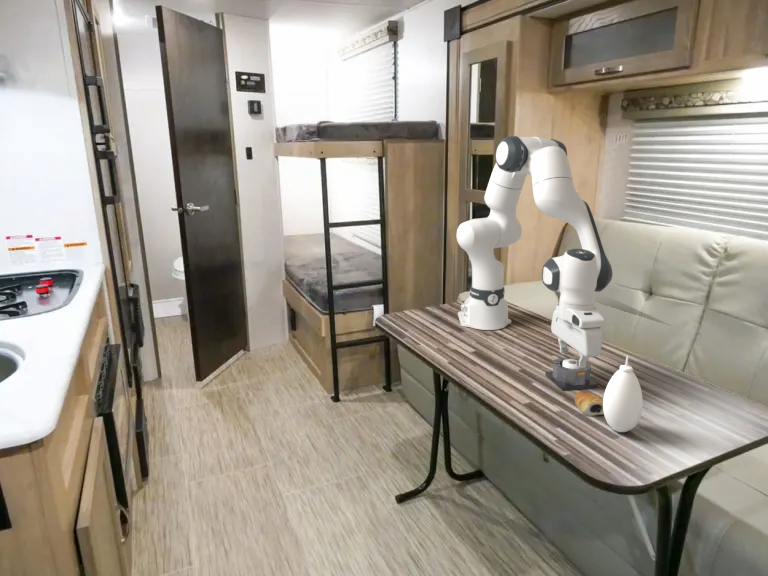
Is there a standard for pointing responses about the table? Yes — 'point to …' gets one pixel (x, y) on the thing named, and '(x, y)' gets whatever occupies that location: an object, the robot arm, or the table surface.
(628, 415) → the white air blower bulb
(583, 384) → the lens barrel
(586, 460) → the table surface
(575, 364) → the cylinder with grey knob
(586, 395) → the pastry
